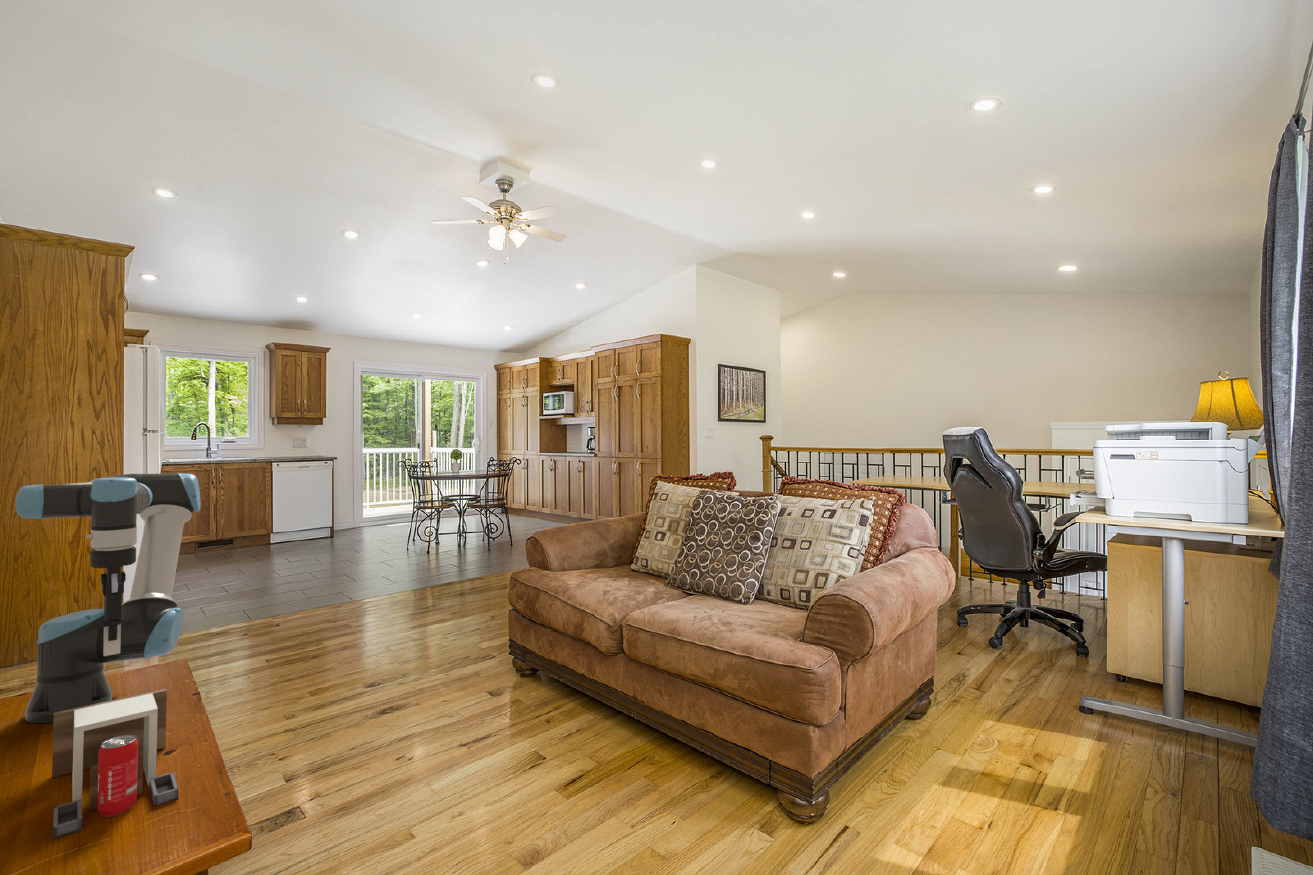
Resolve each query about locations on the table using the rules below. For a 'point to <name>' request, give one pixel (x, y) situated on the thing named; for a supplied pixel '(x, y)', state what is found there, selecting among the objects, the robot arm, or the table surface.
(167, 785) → the pit
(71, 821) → the pit
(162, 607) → the robot arm
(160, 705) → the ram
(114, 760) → the beverage can
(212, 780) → the table surface
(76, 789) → the tunnel
